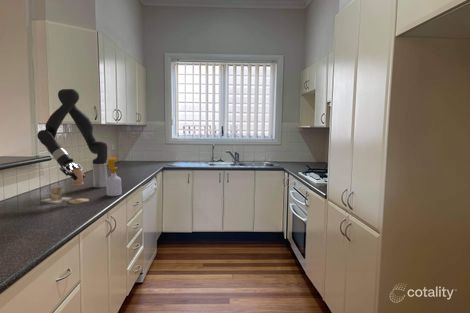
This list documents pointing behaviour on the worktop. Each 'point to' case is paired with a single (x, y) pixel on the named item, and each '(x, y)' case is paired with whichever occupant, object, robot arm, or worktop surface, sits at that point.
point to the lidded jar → (78, 176)
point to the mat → (78, 201)
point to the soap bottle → (113, 180)
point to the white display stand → (56, 196)
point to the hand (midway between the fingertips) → (80, 178)
